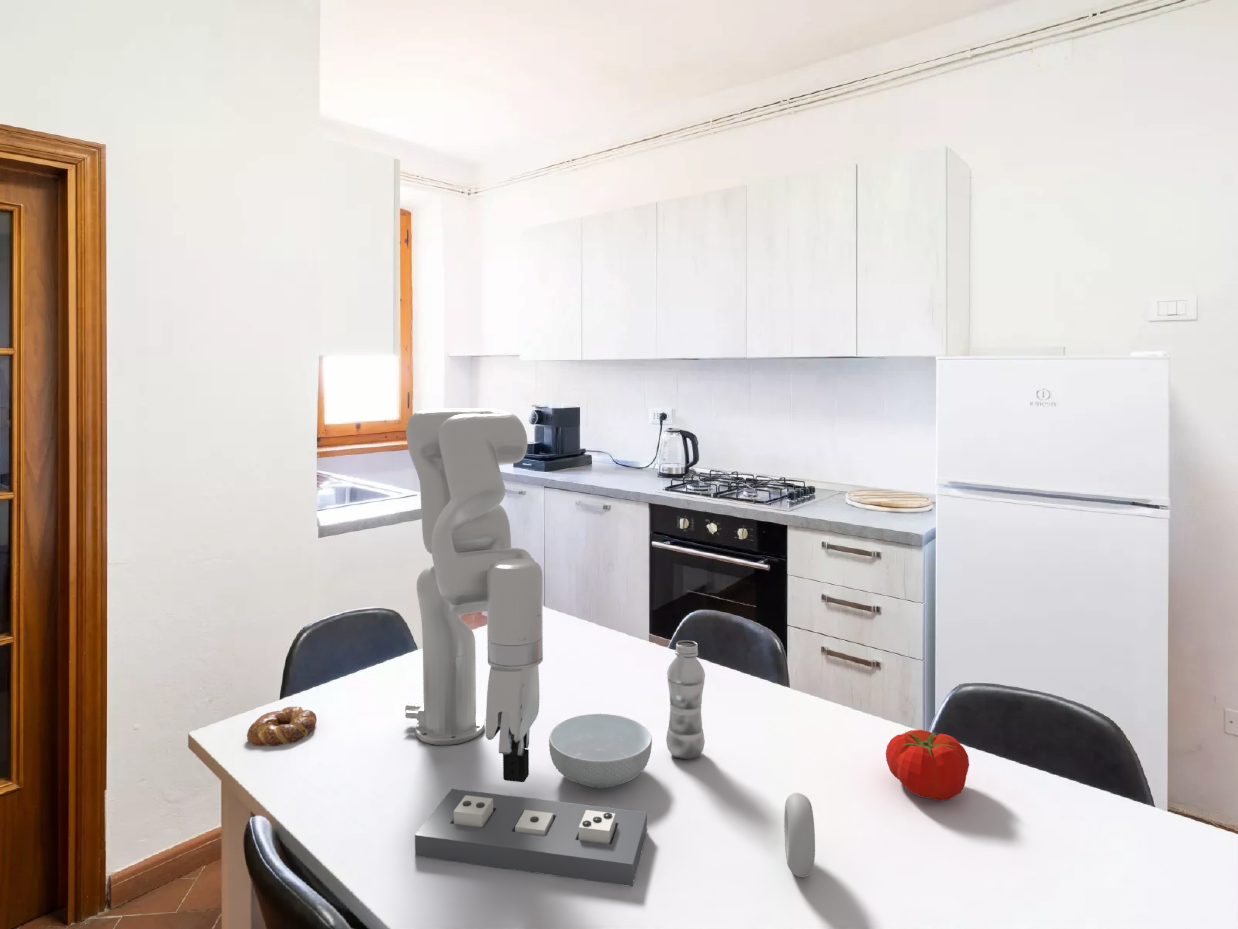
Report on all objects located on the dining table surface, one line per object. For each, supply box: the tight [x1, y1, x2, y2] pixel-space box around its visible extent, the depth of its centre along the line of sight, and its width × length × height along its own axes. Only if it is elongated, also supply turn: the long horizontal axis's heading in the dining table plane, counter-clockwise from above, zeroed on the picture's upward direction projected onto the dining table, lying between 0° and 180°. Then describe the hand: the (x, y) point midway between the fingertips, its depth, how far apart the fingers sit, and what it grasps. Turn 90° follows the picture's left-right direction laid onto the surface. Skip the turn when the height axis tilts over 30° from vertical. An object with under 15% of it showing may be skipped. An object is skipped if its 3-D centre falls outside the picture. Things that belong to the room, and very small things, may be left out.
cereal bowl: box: [548, 713, 653, 789], centre depth 120 cm, size 17×17×7 cm
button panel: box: [414, 788, 648, 887], centre depth 102 cm, size 30×12×3 cm, turn 79°
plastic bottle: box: [665, 640, 706, 760], centre depth 127 cm, size 6×7×20 cm
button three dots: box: [579, 810, 615, 844], centre depth 100 cm, size 4×4×3 cm
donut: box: [783, 792, 816, 878], centre depth 97 cm, size 10×4×10 cm, turn 172°
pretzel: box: [246, 705, 317, 747], centre depth 134 cm, size 12×11×4 cm
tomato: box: [885, 729, 970, 802], centre depth 117 cm, size 14×13×9 cm
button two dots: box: [454, 795, 493, 828], centre depth 103 cm, size 4×4×2 cm
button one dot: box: [515, 810, 553, 836], centre depth 102 cm, size 4×4×3 cm
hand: (516, 778), depth 101 cm, fingers closed
